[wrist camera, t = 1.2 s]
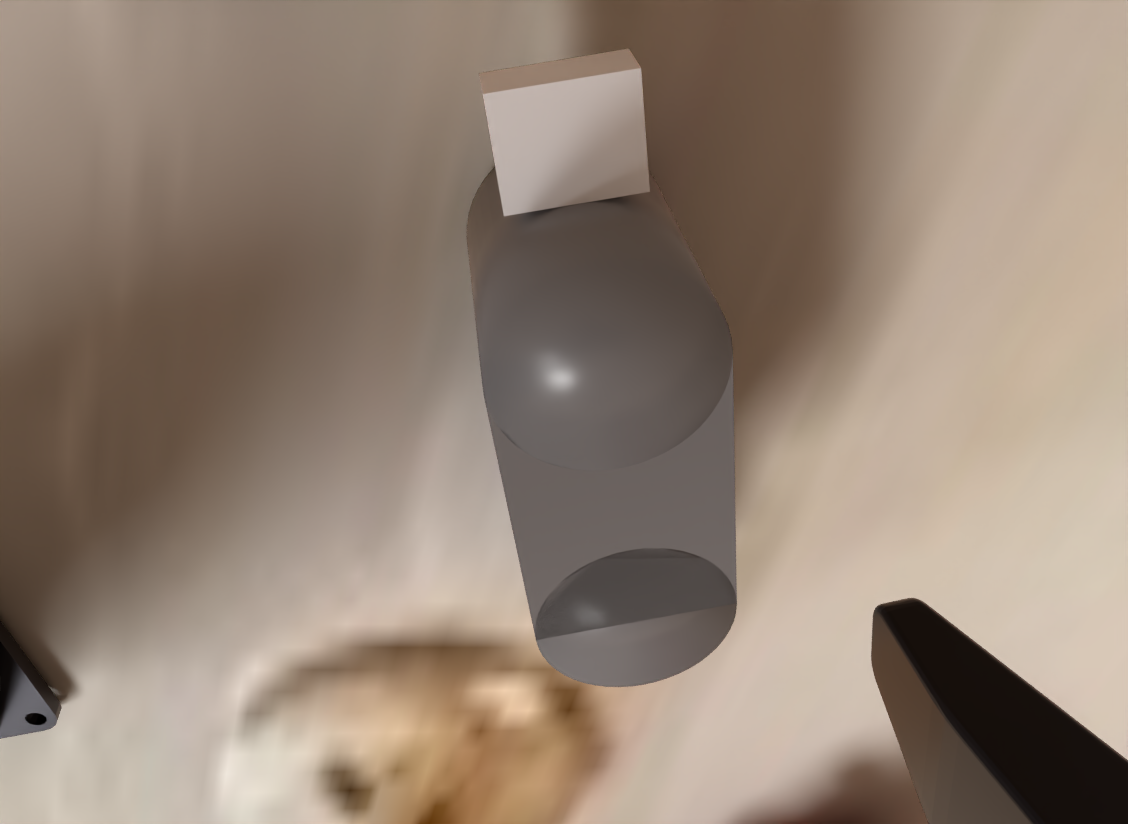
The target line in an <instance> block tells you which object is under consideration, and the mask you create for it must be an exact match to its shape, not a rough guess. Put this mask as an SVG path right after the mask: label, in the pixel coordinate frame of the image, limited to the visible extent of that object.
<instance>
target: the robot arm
mask: <svg viewBox="0 0 1128 824" xmlns="http://www.w3.org/2000/svg"><path fill="white" fill-rule="evenodd" d="M871 661H872V667H873V672H874V676H875V679H876V682H877V685H878V688H879V691H880V693H881V696H882V699H883V701H884V704H885V707H886V710H887V712H888V715H889V718H890V721H891V723H892V726H893V729H894V732H895V734H896V737H897V740H898V742H899V745H900V748H901V751H902V753H903V756H904V759H905V762H906V764H907V767H908V770H909V772H910V775H911V778H912V781H913V783H914V786H915V789H916V792H917V794H918V797H919V800H920V803H921V805H922V808H923V810H924V813H925V815H926V818H927V821H928V823H929V824H1128V760H1127V759H1125V758H1124V757H1123V756H1122V755H1120V754H1119V753H1118V752H1116V751H1115V750H1114V749H1113V748H1111V747H1110V746H1109V745H1107V744H1106V743H1105V742H1104V741H1102V740H1101V739H1100V738H1098V737H1097V736H1096V735H1094V734H1093V733H1092V732H1091V731H1089V730H1088V729H1087V728H1085V727H1084V726H1083V725H1082V724H1080V723H1079V722H1078V721H1076V720H1075V719H1074V718H1073V717H1071V716H1070V715H1069V714H1067V713H1066V712H1065V711H1064V710H1062V709H1061V708H1060V707H1058V706H1057V705H1056V704H1055V703H1053V702H1052V701H1051V700H1049V699H1048V698H1047V697H1046V696H1044V695H1043V694H1042V693H1040V692H1039V691H1038V690H1036V689H1035V688H1034V687H1033V686H1031V685H1030V684H1029V683H1027V682H1026V681H1025V680H1024V679H1022V678H1021V677H1020V676H1018V675H1017V674H1016V673H1015V672H1013V671H1012V670H1011V669H1009V668H1008V667H1007V666H1006V665H1004V664H1003V663H1002V662H1000V661H999V660H998V659H997V658H995V657H994V656H993V655H991V654H990V653H989V652H988V651H986V650H985V649H984V648H982V647H981V646H980V645H978V644H977V643H976V642H975V641H973V640H972V639H971V638H969V637H968V636H967V635H966V634H964V633H963V632H962V631H960V630H959V629H958V628H957V627H955V626H954V625H953V624H951V623H950V622H949V621H948V620H946V619H945V618H944V617H942V616H941V615H940V614H939V613H937V612H936V611H935V610H933V609H932V608H931V607H930V606H928V605H927V604H926V603H924V602H923V601H921V600H919V599H915V598H907V599H902V600H898V601H893V602H889V603H884V604H880V605H878V606H877V607H876V608H875V610H874V613H873V628H872V651H871ZM61 708H62V707H61V704H60V702H59V701H58V699H57V698H56V697H55V695H54V694H53V692H52V691H51V690H50V688H49V687H48V685H47V684H46V683H45V681H44V680H43V679H42V677H41V676H40V674H39V673H38V672H37V670H36V669H35V668H34V666H33V665H32V663H31V662H30V661H29V659H28V658H27V657H26V655H25V654H24V652H23V651H22V650H21V648H20V647H19V646H18V644H17V643H16V641H15V640H14V639H13V637H12V636H11V635H10V633H9V632H8V630H7V629H6V628H5V626H4V625H3V624H2V622H1V621H0V739H1V738H6V737H12V736H17V735H22V734H28V733H33V732H39V731H44V730H48V729H51V728H52V727H54V726H55V725H56V723H57V720H58V717H59V714H60V711H61Z"/></svg>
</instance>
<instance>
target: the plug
mask: <svg viewBox="0 0 1128 824" xmlns="http://www.w3.org/2000/svg"><path fill="white" fill-rule="evenodd" d="M479 76H480V82H481V88H482V94H483V100H484V105H485V111H486V117H487V123H488V128H489V134H490V140H491V146H492V151H493V157H494V163H495V168H494V169H493V170H492V171H491V172H490V173H489V174H488V176H487V177H486V178H485V179H484V181H483V183H482V184H481V186H480V187H479V189H478V191H477V193H476V195H475V197H474V199H473V201H472V205H471V208H470V211H469V215H468V222H467V245H468V255H469V264H470V273H471V283H472V292H473V301H474V311H475V320H476V329H477V339H478V348H479V357H480V367H481V376H482V385H483V392H484V398H485V403H486V408H487V412H488V417H489V422H490V426H491V431H492V436H493V440H494V445H495V450H496V454H497V459H498V464H499V468H500V473H501V478H502V482H503V487H504V492H505V497H506V501H507V506H508V511H509V515H510V520H511V525H512V529H513V534H514V539H515V543H516V548H517V553H518V557H519V562H520V567H521V572H522V576H523V581H524V586H525V590H526V595H527V600H528V604H529V609H530V614H531V618H532V623H533V628H534V632H535V637H536V641H537V644H538V647H539V650H540V652H541V653H542V655H543V657H544V658H545V659H546V660H547V662H548V663H549V664H550V665H551V666H552V667H554V668H555V669H556V670H557V671H559V672H561V673H562V674H564V675H566V676H568V677H570V678H572V679H574V680H577V681H580V682H583V683H587V684H592V685H597V686H606V687H627V686H637V685H644V684H648V683H653V682H657V681H660V680H663V679H666V678H669V677H672V676H674V675H676V674H679V673H681V672H683V671H685V670H687V669H689V668H691V667H692V666H694V665H696V664H697V663H699V662H700V661H702V660H703V659H704V658H706V657H707V656H708V655H709V654H710V653H712V652H713V651H714V650H715V649H716V648H717V647H718V646H719V644H720V643H721V642H722V641H723V640H724V638H725V637H726V635H727V634H728V632H729V630H730V628H731V626H732V624H733V622H734V618H735V614H736V606H737V590H736V526H735V462H734V398H733V349H732V338H731V334H730V331H729V327H728V324H727V322H726V319H725V317H724V315H723V313H722V311H721V309H720V307H719V305H718V303H717V301H716V299H715V297H714V295H713V293H712V291H711V289H710V287H709V285H708V283H707V281H706V279H705V277H704V275H703V273H702V271H701V269H700V267H699V265H698V263H697V261H696V260H695V258H694V256H693V254H692V252H691V250H690V248H689V246H688V244H687V242H686V240H685V238H684V236H683V234H682V232H681V230H680V228H679V226H678V224H677V222H676V220H675V218H674V216H673V214H672V212H671V210H670V208H669V207H668V205H667V203H666V201H665V199H664V197H663V195H662V193H661V191H660V189H659V187H658V185H657V183H656V181H655V180H654V178H653V176H652V175H651V173H650V172H649V171H648V159H647V144H646V130H645V116H644V102H643V88H642V74H641V67H640V65H639V64H638V62H637V61H636V59H635V57H634V56H633V54H632V53H631V51H630V49H623V50H617V51H611V52H605V53H599V54H592V55H586V56H580V57H574V58H568V59H562V60H556V61H550V62H544V63H538V64H532V65H525V66H519V67H513V68H507V69H501V70H495V71H489V72H483V73H479Z"/></svg>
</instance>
